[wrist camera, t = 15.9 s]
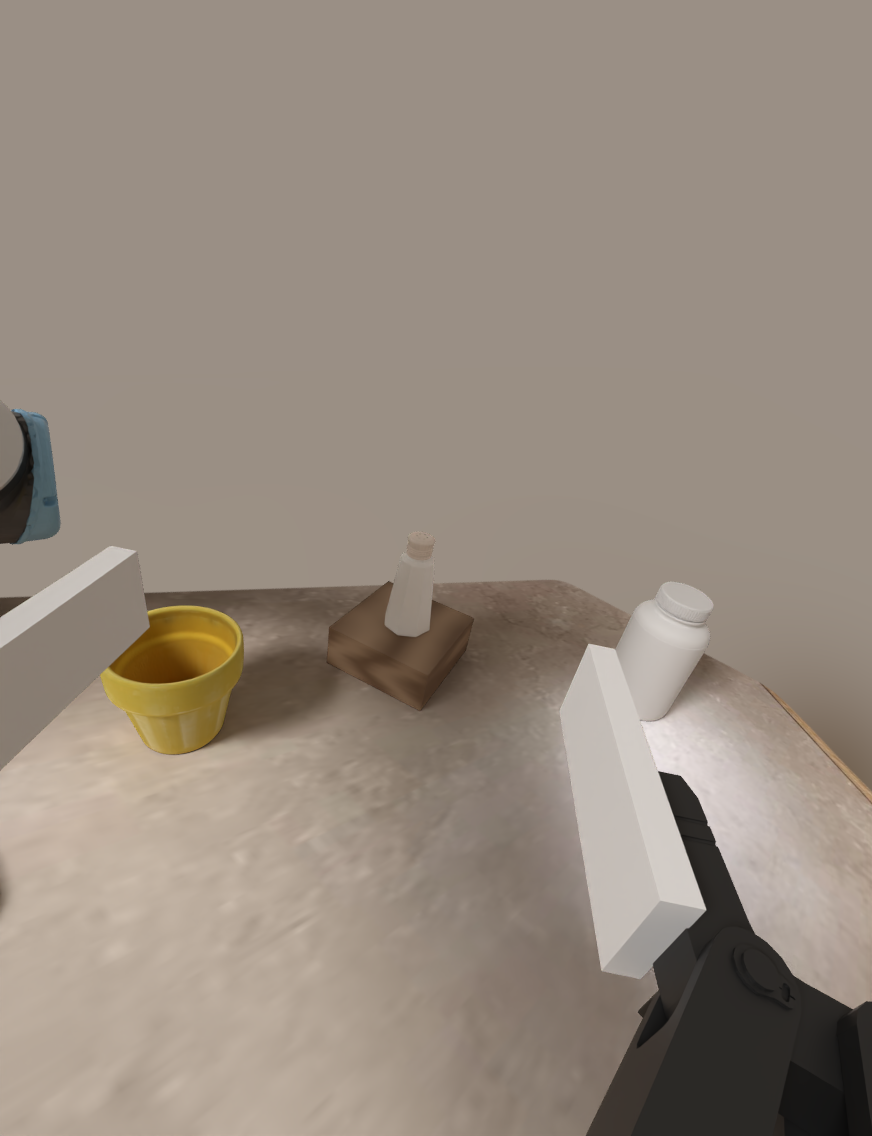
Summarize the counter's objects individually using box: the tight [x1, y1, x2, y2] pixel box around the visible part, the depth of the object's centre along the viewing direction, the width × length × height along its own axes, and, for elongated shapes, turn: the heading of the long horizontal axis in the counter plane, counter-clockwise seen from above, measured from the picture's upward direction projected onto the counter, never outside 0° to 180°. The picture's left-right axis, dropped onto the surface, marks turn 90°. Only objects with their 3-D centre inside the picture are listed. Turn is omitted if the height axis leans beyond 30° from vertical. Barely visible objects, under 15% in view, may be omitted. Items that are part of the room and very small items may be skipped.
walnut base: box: [327, 581, 474, 711], centre depth 55 cm, size 12×12×5 cm
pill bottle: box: [615, 582, 714, 721], centre depth 53 cm, size 8×8×15 cm
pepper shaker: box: [384, 532, 435, 637], centre depth 51 cm, size 5×5×11 cm
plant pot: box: [100, 606, 244, 754], centre depth 41 cm, size 10×10×10 cm
